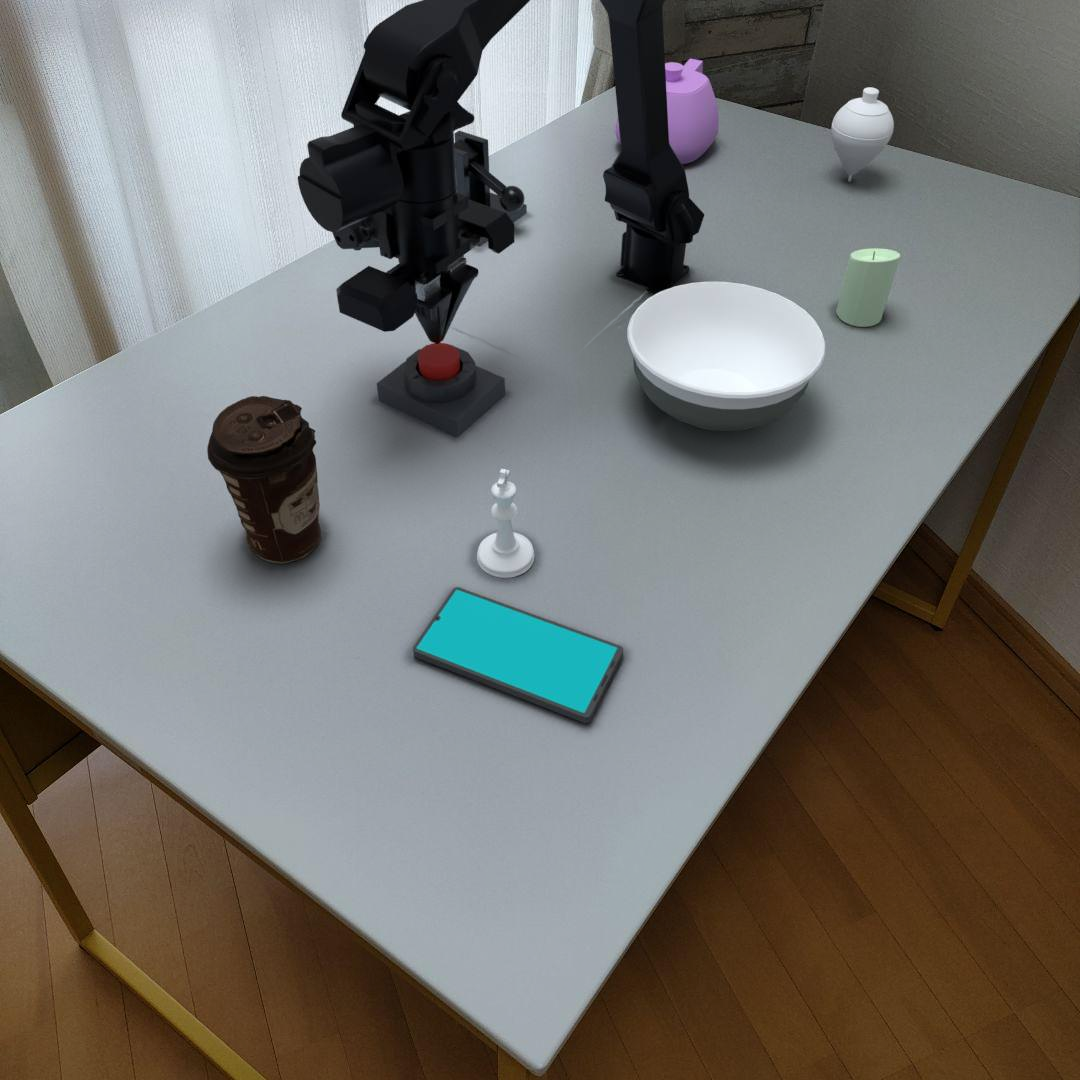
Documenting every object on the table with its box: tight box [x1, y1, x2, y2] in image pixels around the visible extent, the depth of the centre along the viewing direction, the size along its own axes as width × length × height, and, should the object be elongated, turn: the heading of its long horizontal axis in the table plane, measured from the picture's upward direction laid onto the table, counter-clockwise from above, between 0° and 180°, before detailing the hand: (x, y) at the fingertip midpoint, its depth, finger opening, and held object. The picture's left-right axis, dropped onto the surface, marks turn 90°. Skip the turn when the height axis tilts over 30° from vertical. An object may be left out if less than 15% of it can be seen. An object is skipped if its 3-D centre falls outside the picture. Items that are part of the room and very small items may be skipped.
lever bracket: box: [454, 130, 528, 248], centre depth 122 cm, size 12×10×10 cm
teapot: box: [614, 58, 719, 165], centre depth 135 cm, size 13×20×11 cm
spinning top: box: [830, 86, 895, 182], centre depth 128 cm, size 8×8×12 cm
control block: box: [376, 344, 506, 438], centre depth 99 cm, size 10×8×4 cm
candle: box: [835, 247, 901, 328], centre depth 108 cm, size 5×5×8 cm
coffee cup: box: [206, 395, 322, 564], centre depth 82 cm, size 9×8×13 cm
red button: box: [418, 342, 460, 380], centre depth 97 cm, size 4×4×2 cm
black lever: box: [454, 139, 525, 212], centre depth 119 cm, size 11×3×3 cm, turn 56°
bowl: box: [626, 281, 827, 432], centre depth 97 cm, size 19×19×8 cm
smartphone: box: [412, 587, 624, 724], centre depth 78 cm, size 7×1×15 cm
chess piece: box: [476, 468, 535, 579], centre depth 82 cm, size 5×5×10 cm
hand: (436, 341), depth 95 cm, fingers closed
